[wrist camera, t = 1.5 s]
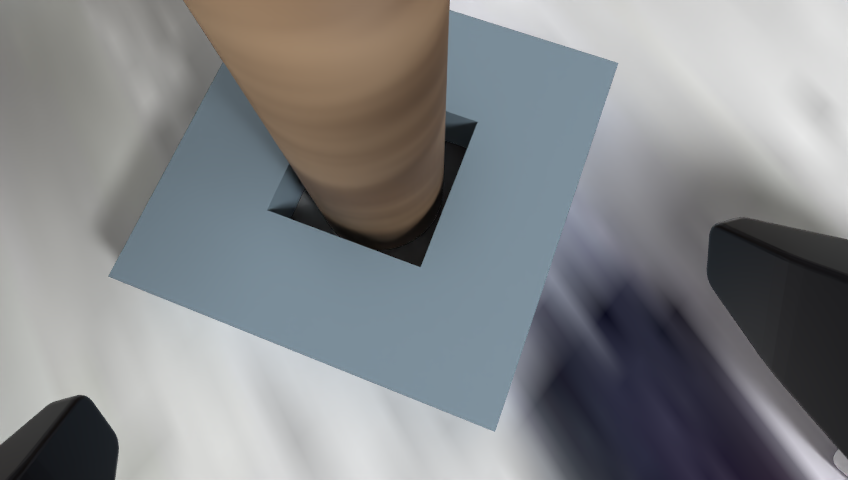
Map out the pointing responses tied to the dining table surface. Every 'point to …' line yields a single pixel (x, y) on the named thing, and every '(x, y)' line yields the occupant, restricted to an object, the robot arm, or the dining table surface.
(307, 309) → the slate holder block
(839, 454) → the medicine bottle
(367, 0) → the walnut peg
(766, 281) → the robot arm
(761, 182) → the dining table surface
